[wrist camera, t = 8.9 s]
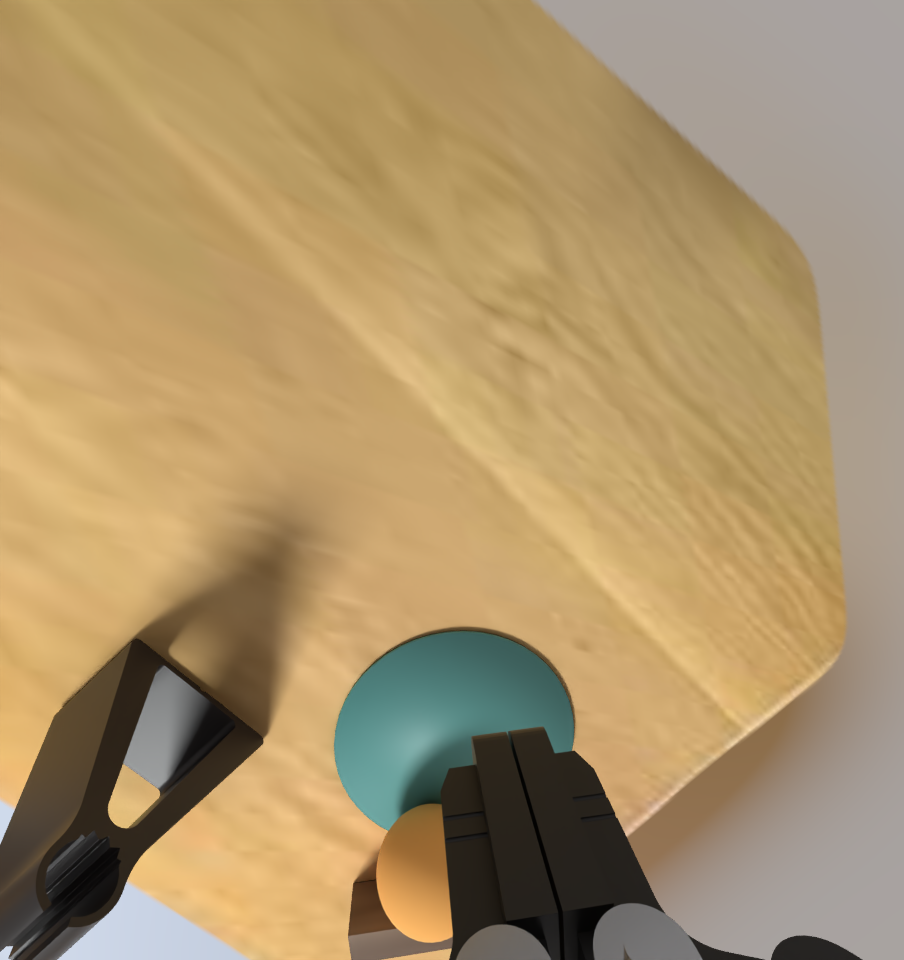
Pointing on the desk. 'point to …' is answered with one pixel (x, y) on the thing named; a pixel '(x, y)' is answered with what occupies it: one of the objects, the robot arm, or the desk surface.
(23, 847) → the phone stand
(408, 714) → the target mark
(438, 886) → the ball
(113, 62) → the desk surface
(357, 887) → the stop bar
